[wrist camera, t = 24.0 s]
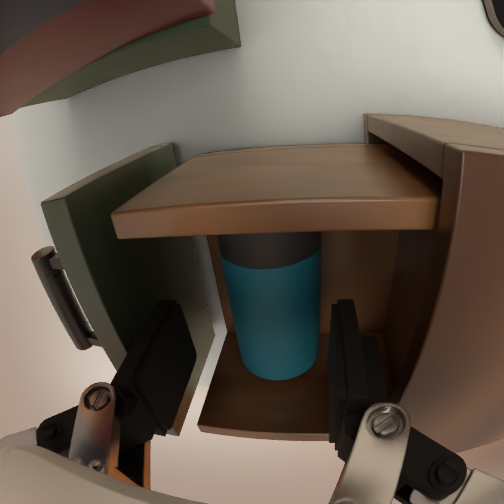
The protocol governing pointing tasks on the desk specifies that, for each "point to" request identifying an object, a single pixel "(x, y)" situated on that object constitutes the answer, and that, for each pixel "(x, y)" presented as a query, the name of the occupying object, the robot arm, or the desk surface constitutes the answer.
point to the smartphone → (496, 14)
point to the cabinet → (456, 283)
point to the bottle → (274, 299)
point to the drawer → (187, 274)
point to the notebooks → (100, 42)
